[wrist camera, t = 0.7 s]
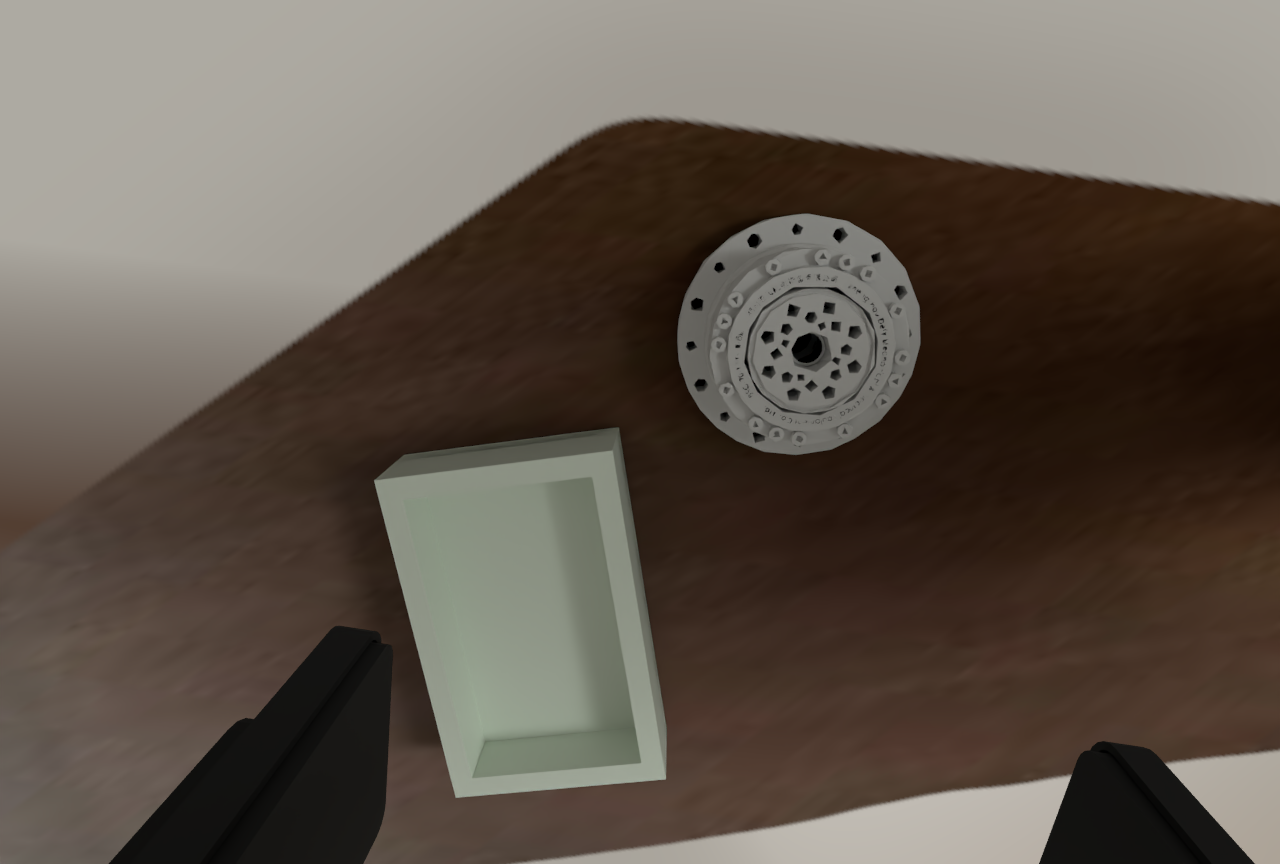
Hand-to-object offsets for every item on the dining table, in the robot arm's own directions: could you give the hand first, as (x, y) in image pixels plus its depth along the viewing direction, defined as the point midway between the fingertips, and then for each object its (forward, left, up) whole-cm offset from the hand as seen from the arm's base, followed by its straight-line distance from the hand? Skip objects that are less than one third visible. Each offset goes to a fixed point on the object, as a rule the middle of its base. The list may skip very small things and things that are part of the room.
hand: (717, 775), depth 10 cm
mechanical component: (-5, -2, -24) cm, 24 cm away
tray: (+8, +9, -23) cm, 26 cm away
